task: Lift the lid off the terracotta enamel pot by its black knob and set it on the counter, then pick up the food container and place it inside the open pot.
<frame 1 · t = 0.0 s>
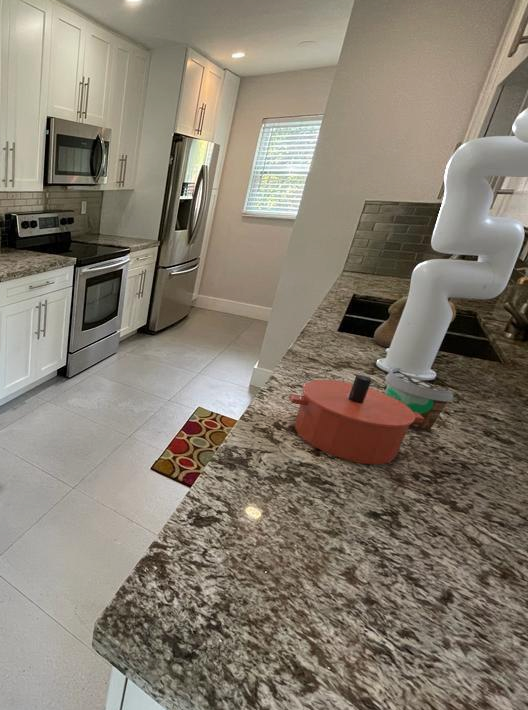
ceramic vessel: (407, 350, 131), on the table
food container: (395, 419, 92), on the table
lid: (354, 402, 81), point 8 cm above the table, touching pot
pot: (341, 438, 84), on the table
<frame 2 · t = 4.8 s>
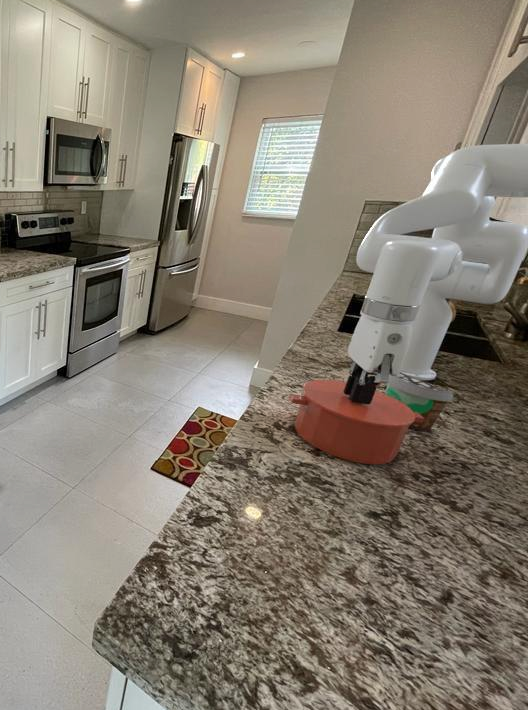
hand: (356, 398, 81), 9 cm above the table, tool pointing down, fingers closed on lid, 2 cm apart
lid: (354, 402, 81), point 9 cm above the table, touching gripper, pot
everything else where it was.
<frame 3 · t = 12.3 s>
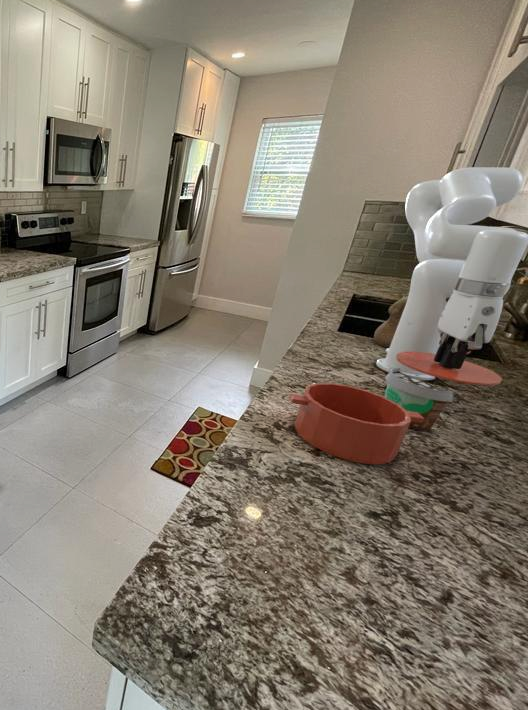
hand: (446, 364, 95), 10 cm above the table, tool pointing down, fingers closed on lid, 2 cm apart
lid: (445, 368, 96), point 9 cm above the table, touching gripper
everything else where it was.
when the fingers open (1 cm above the table, at t = 14.5 s): lid stays where it is, point 1 cm above the table.
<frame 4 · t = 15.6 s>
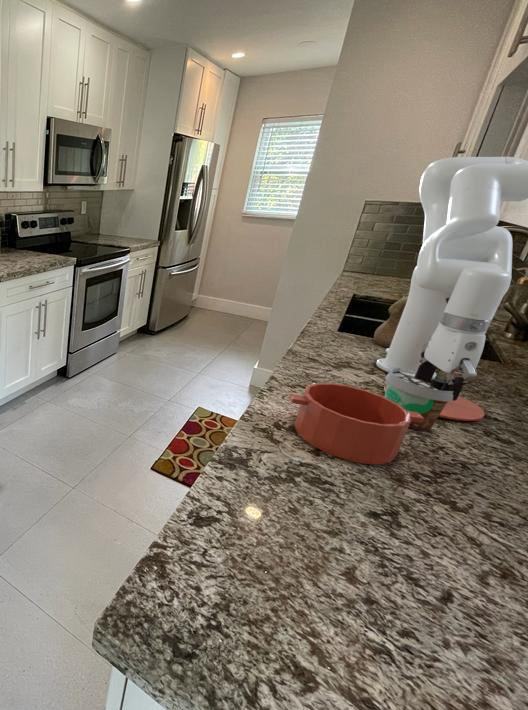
hand: (433, 389, 99), 3 cm above the table, tool pointing down, fingers open, 9 cm apart
lid: (430, 400, 99), point 1 cm above the table
everything else where it was.
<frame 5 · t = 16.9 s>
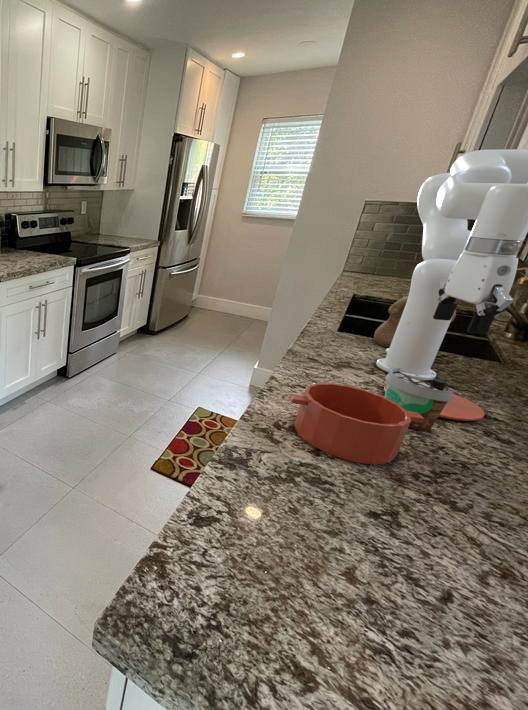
hand: (457, 326, 90), 20 cm above the table, tool pointing down, fingers open, 9 cm apart
nothing on the table moved.
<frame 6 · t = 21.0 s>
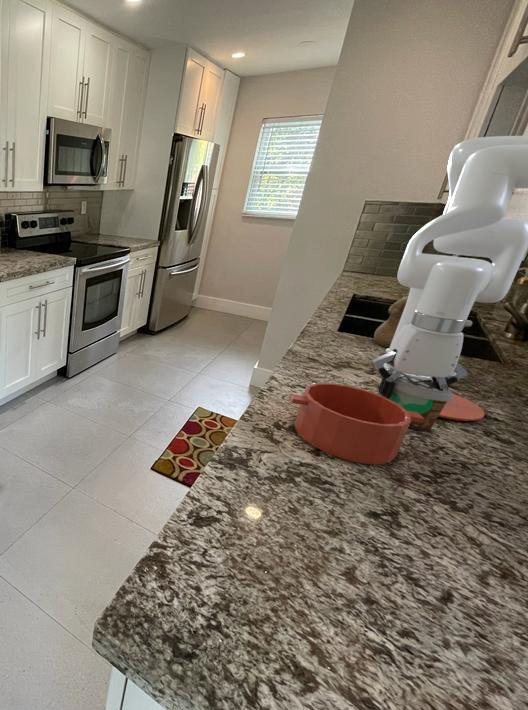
hand: (405, 398, 90), 5 cm above the table, tool pointing down, fingers closed on food container, 7 cm apart
food container: (395, 419, 92), on the table, touching gripper
everything else where it was.
when the fingers open (6 cm above the table, at t = 29.1 s): food container stays where it is, resting on pot.
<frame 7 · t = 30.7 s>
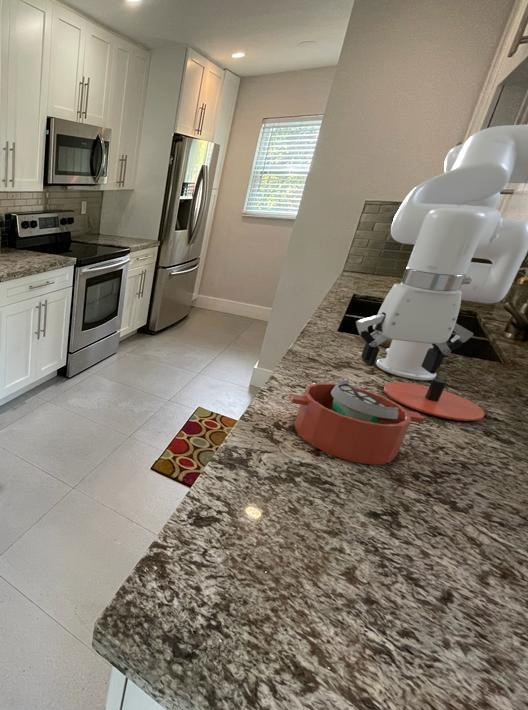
hand: (397, 366, 79), 16 cm above the table, tool pointing down, fingers open, 9 cm apart
food container: (341, 436, 84), resting on pot
everything else where it was.
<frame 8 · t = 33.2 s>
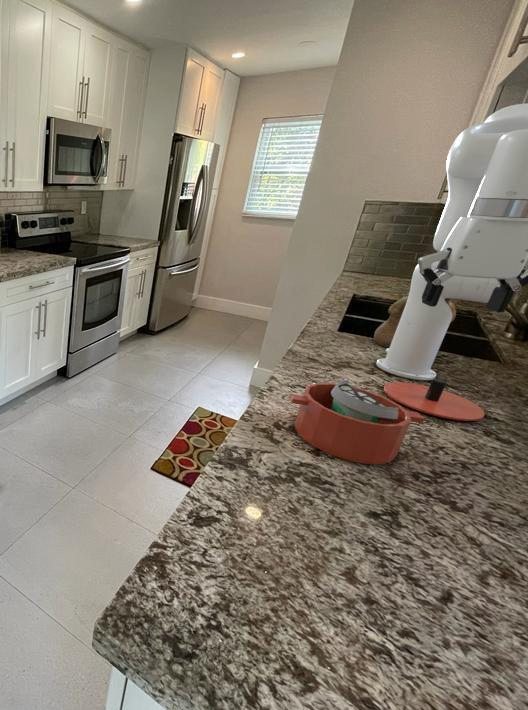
hand: (460, 307, 75), 28 cm above the table, tool pointing down, fingers open, 9 cm apart
nothing on the table moved.
at the end: food container 0.1 cm off-centre in the pot, point 0.3 cm above the pot's base; lid inside the target area (0.3 cm from its centre), point 0.6 cm above the table; food container tilted 0° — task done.
